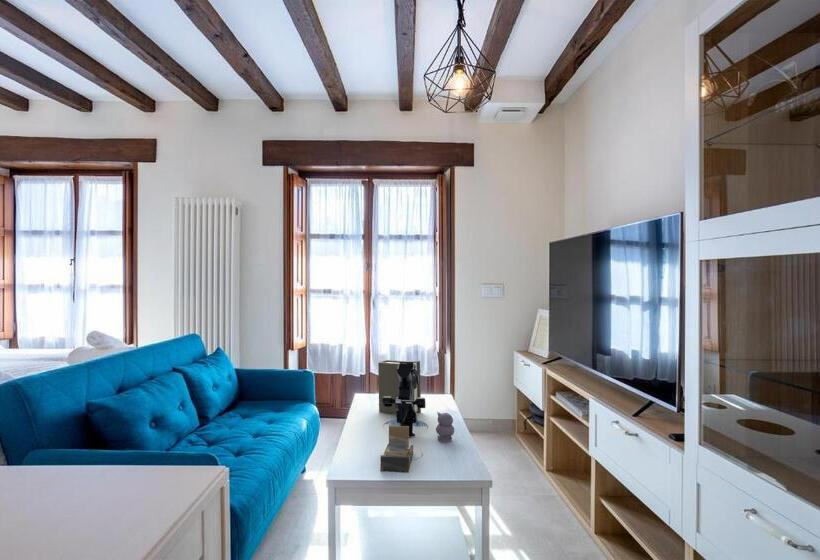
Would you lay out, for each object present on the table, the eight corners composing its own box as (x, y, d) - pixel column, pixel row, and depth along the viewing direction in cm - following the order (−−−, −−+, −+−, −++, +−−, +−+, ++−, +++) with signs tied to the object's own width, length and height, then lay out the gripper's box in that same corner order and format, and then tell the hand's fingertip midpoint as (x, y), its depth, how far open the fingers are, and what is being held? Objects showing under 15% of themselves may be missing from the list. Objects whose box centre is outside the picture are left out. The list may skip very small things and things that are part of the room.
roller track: (387, 452, 171) (387, 439, 171) (413, 453, 170) (413, 440, 170) (380, 471, 154) (380, 456, 154) (408, 472, 153) (408, 457, 153)
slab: (389, 450, 166) (389, 425, 166) (408, 451, 165) (409, 426, 165) (386, 456, 160) (386, 430, 160) (407, 457, 159) (407, 431, 159)
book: (377, 413, 224) (377, 361, 224) (386, 408, 232) (385, 358, 233) (413, 417, 215) (412, 364, 215) (420, 412, 223) (419, 361, 224)
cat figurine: (458, 440, 185) (458, 413, 185) (447, 445, 179) (447, 417, 179) (442, 435, 190) (443, 409, 190) (432, 440, 184) (432, 413, 184)
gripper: (426, 394, 190) (425, 428, 180) (386, 393, 192) (383, 427, 182) (425, 384, 181) (424, 420, 172) (383, 383, 183) (379, 418, 173)
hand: (402, 421), depth 175 cm, fingers closed
